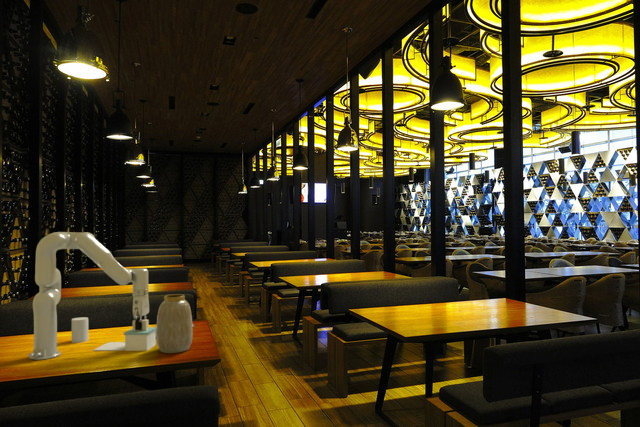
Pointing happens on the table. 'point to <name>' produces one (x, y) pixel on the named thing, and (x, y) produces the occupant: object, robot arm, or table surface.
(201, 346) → the table surface
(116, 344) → the mat
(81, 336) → the cup
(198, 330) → the table surface
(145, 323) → the lid
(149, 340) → the box
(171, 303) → the vase
